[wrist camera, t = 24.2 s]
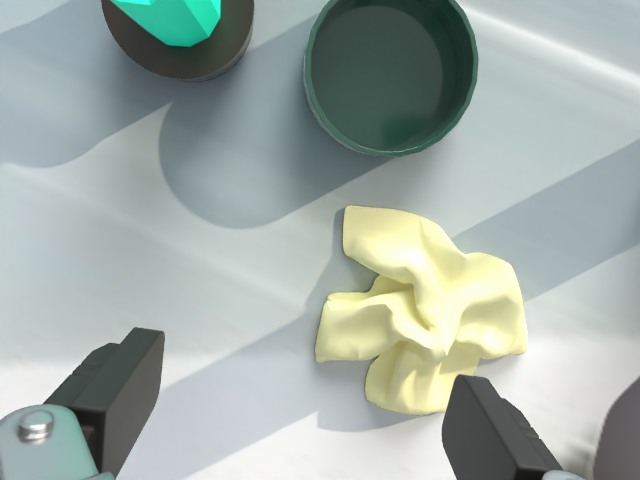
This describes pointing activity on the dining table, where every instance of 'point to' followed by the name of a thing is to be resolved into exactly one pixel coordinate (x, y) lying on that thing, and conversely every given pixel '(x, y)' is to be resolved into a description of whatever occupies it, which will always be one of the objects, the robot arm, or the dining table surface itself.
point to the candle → (174, 18)
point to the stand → (186, 61)
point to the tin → (390, 73)
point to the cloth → (419, 310)
